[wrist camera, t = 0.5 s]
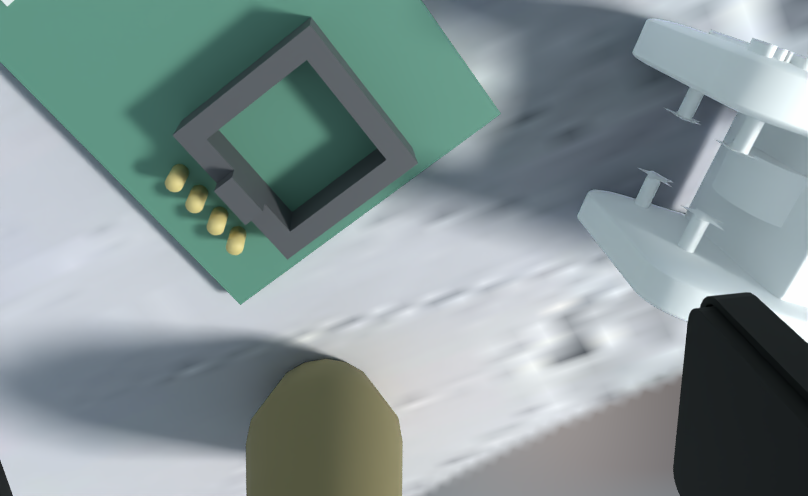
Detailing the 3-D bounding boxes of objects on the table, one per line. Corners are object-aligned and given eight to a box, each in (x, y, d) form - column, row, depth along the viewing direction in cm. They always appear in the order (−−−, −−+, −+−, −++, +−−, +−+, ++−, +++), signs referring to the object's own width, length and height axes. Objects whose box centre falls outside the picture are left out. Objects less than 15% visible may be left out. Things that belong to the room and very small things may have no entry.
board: (173, -352, 29) (148, -393, 25) (495, 107, 37) (517, 133, 33) (-118, -74, 32) (-185, -70, 28) (242, 293, 40) (233, 339, 36)
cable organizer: (547, 202, 40) (628, 312, 29) (636, -2, 36) (765, 41, 25) (791, 275, 43) (942, 398, 32) (896, 95, 39) (1107, 169, 29)
